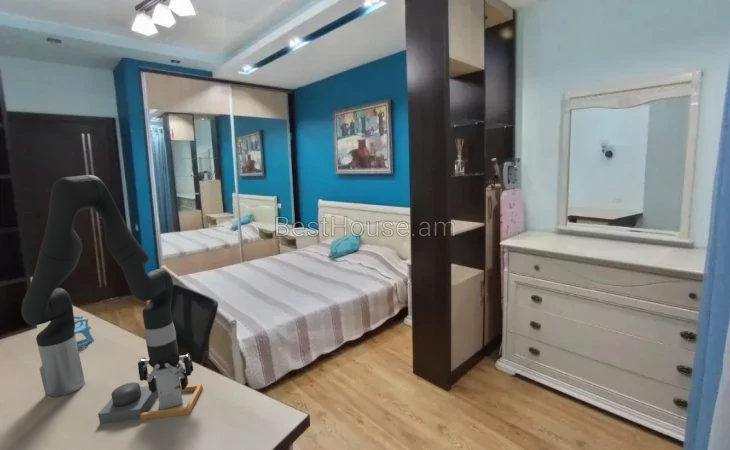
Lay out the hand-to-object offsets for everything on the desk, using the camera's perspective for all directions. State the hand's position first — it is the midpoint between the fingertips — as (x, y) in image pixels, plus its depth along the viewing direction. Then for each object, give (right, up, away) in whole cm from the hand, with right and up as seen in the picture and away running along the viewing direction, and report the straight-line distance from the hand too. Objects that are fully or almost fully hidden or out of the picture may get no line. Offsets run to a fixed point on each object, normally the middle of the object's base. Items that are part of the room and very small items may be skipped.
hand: (169, 389), depth 108 cm
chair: (-58, 0, +41) cm, 71 cm away
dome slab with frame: (-5, -5, 0) cm, 7 cm away
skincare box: (0, -5, +1) cm, 5 cm away
